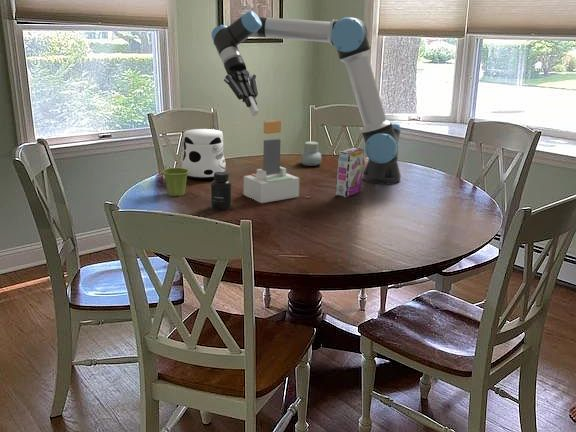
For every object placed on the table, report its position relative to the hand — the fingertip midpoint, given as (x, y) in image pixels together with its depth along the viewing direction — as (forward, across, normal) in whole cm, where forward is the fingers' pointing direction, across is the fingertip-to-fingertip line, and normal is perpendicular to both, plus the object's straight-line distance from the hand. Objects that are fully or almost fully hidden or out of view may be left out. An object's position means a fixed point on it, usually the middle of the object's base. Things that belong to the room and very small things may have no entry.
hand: (255, 113), depth 214 cm
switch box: (+28, -1, -12) cm, 30 cm away
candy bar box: (+36, -27, -4) cm, 45 cm away
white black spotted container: (+2, +8, -39) cm, 40 cm away
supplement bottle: (+31, +22, -10) cm, 39 cm away
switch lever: (+22, -1, -6) cm, 23 cm away
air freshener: (+5, -43, -36) cm, 56 cm away
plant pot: (+15, +28, -26) cm, 41 cm away
